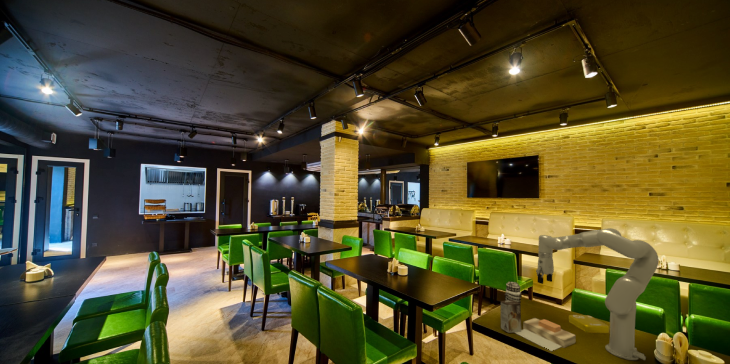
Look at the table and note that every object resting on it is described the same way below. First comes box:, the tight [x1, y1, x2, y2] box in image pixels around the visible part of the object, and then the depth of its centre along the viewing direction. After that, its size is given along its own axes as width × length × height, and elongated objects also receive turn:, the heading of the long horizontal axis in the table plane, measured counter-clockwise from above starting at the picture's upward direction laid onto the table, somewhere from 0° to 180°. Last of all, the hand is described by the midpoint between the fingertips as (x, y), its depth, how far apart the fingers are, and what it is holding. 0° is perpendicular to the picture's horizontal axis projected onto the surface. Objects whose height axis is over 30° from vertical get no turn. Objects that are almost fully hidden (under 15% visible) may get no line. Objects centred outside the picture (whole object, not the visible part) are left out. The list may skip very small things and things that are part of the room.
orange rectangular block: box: [538, 318, 562, 333], centre depth 160 cm, size 9×6×2 cm, turn 29°
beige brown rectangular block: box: [522, 317, 577, 349], centre depth 159 cm, size 22×12×4 cm, turn 29°
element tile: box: [568, 314, 610, 334], centre depth 172 cm, size 15×15×5 cm
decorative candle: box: [504, 281, 522, 304], centre depth 173 cm, size 9×9×25 cm
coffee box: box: [499, 300, 522, 334], centre depth 164 cm, size 9×6×16 cm
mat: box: [514, 329, 563, 352], centre depth 154 cm, size 20×10×1 cm, turn 29°
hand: (544, 282), depth 175 cm, fingers open, 9 cm apart
